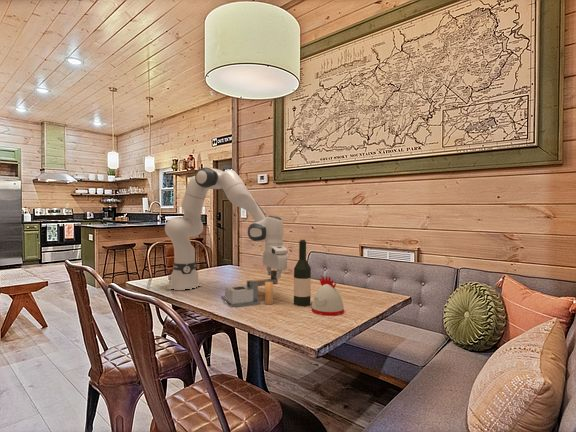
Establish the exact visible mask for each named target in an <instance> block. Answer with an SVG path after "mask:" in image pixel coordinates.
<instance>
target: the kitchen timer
mask: <svg viewBox="0 0 576 432" xmlns="http://www.w3.org/2000/svg"><path fill="white" fill-rule="evenodd" d="M319 283H320V285H321V286H320V287H319V288H318V290H316V292H315V294H314V296H313V300H312V303H311V312H312V313H313V314H316V315H319V316H325V317H326V316H327V317H331V316H332V317H333V316H340V315H342V314H344V311H345V309H344V308H345V307H344V301H343V299H342V295H341V293H340V291H339V290H338V289H337V288H336V286H337V282H335V283H334V279H333V280H332V279H331V276H329V277H328V276H326V277H325V275H324V276H322V278H319Z"/></svg>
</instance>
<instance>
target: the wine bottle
mask: <svg viewBox="0 0 576 432" xmlns="http://www.w3.org/2000/svg"><path fill="white" fill-rule="evenodd" d="M298 242H299V243H298V247H299V248H298V251H299V252H298V254H299V255H298V260H297V262H296V265H295V266H294V268H293V305H294V306H297V307H308V306H311V288H312V287H311V285H312V282H311V281H312V280H311V278H312V273H311V271H312V268H311V266H310V264H309V262H308V260H307V241H306V239H300V240H299V241H298Z"/></svg>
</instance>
